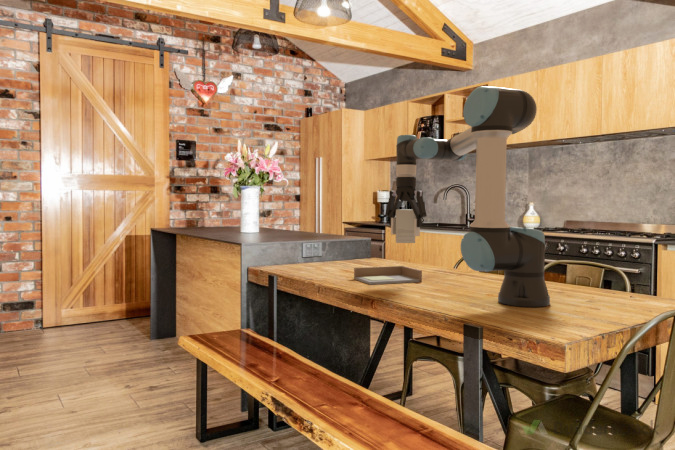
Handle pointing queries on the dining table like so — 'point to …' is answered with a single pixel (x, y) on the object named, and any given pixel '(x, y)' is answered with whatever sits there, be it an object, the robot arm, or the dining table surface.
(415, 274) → the brown tray
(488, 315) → the dining table surface
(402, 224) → the supplement box
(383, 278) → the pad
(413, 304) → the dining table surface
